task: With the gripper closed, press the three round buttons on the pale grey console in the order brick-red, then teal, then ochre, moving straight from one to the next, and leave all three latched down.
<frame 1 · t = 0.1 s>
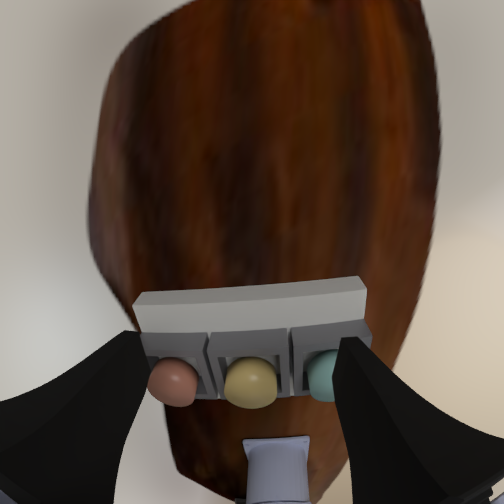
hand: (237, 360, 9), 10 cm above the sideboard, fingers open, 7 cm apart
console: (253, 340, 21), on the sideboard
ochre button: (251, 383, 17), point 5 cm above the sideboard, slide at 0.0 cm
brick button: (173, 382, 17), point 5 cm above the sideboard, slide at 0.0 cm
light switch: (260, 492, 36), on the sideboard
teal button: (333, 376, 16), point 5 cm above the sideboard, slide at 0.0 cm
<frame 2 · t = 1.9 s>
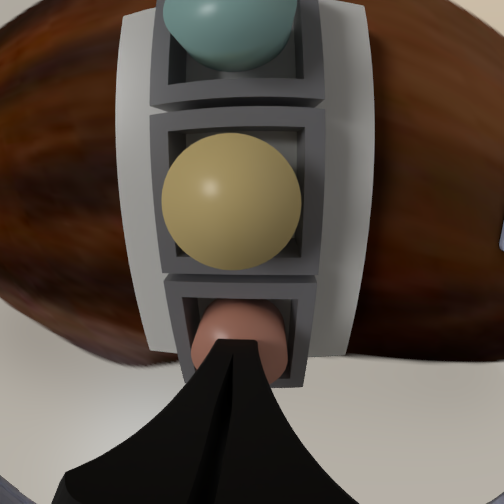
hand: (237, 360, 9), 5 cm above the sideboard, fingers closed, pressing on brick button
console: (244, 179, 12), on the sideboard
ochre button: (233, 197, 7), point 5 cm above the sideboard, slide at 0.0 cm
brick button: (240, 343, 10), point 4 cm above the sideboard, slide at 0.7 cm, touching gripper
teal button: (232, 14, 5), point 5 cm above the sideboard, slide at 0.0 cm
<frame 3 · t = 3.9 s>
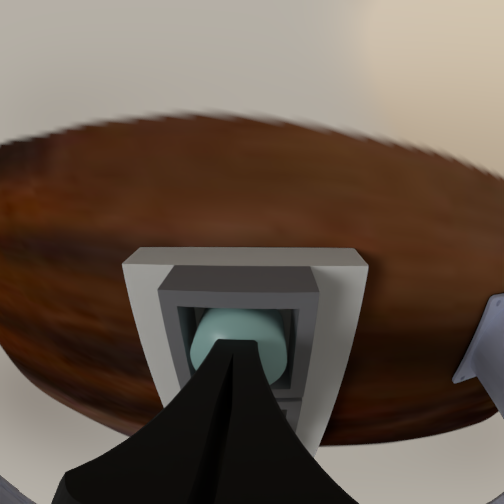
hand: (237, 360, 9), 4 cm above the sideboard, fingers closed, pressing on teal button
console: (247, 376, 15), on the sideboard
teal button: (240, 344, 10), point 3 cm above the sideboard, slide at 1.2 cm, touching gripper
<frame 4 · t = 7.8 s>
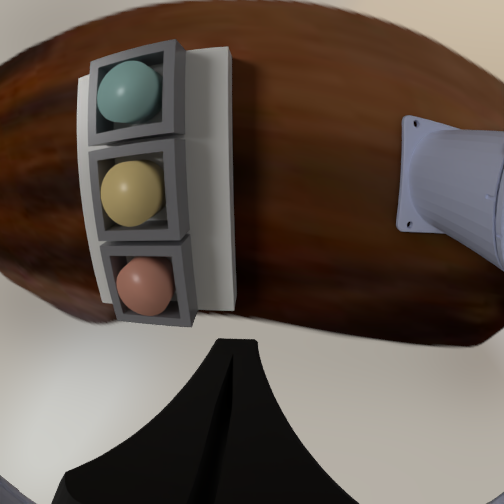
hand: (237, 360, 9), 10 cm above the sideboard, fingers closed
console: (157, 183, 17), on the sideboard
ochre button: (135, 191, 14), point 3 cm above the sideboard, slide at 1.2 cm
brick button: (147, 283, 15), point 3 cm above the sideboard, slide at 1.2 cm
teal button: (131, 93, 12), point 3 cm above the sideboard, slide at 1.2 cm
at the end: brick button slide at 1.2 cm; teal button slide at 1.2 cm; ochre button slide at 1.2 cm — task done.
